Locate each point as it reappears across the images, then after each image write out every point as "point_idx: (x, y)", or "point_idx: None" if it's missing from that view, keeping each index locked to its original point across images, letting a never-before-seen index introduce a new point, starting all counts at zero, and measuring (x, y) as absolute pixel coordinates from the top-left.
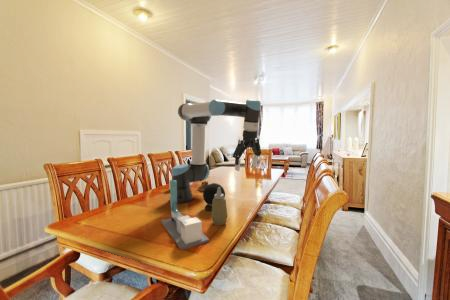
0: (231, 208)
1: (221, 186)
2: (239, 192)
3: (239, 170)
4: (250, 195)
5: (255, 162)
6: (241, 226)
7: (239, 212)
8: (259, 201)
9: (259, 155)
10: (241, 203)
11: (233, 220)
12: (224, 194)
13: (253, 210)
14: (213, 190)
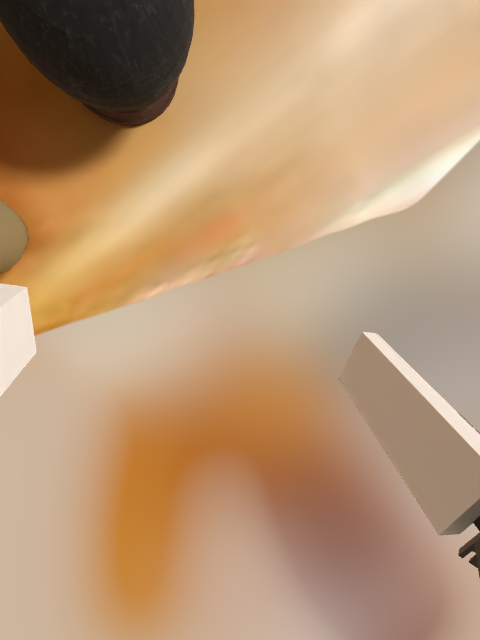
0: (186, 160)
1: (134, 22)
2: (452, 20)
3: (29, 357)
4: (418, 129)
5: (372, 414)
6: (56, 324)
7: (169, 230)
8: (348, 227)
9: (474, 559)
10: (279, 162)
11: (74, 264)
12: (141, 100)
13: (230, 268)
14: (10, 8)
